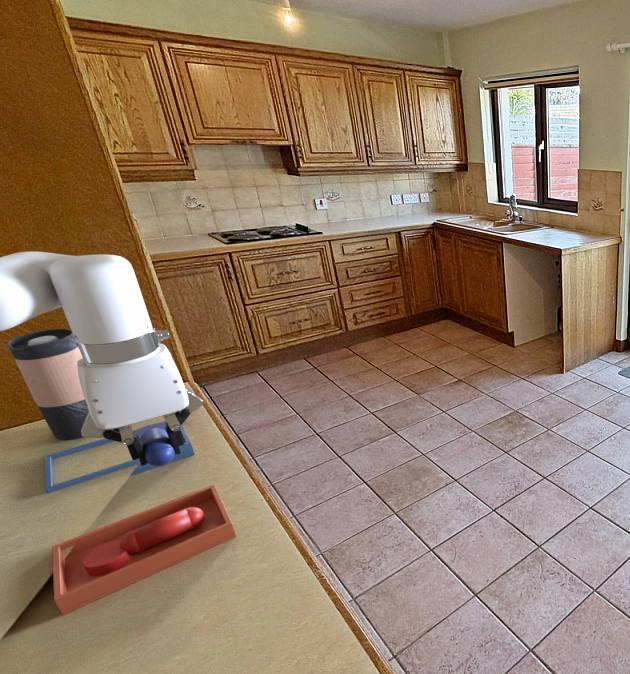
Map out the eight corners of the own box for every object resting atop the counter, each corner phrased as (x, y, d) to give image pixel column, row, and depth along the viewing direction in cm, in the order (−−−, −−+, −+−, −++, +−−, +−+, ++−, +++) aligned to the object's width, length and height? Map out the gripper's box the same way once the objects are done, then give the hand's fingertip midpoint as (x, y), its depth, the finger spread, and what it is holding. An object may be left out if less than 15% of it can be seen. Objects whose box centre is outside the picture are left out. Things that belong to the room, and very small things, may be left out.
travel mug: (115, 420, 92) (74, 325, 84) (117, 437, 87) (73, 338, 79) (58, 435, 87) (8, 335, 79) (56, 454, 82) (3, 350, 74)
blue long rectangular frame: (195, 454, 84) (190, 442, 83) (52, 502, 72) (45, 489, 71) (183, 427, 91) (179, 416, 90) (51, 468, 79) (44, 455, 78)
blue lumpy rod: (184, 462, 71) (178, 445, 70) (145, 475, 68) (138, 457, 67) (170, 427, 79) (164, 411, 78) (134, 438, 76) (127, 421, 75)
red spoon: (203, 513, 71) (197, 496, 70) (210, 529, 68) (203, 512, 67) (86, 561, 62) (76, 544, 61) (88, 582, 60) (78, 564, 58)
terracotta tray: (236, 536, 68) (232, 523, 67) (62, 615, 56) (53, 600, 55) (218, 496, 75) (214, 484, 74) (59, 560, 63) (52, 546, 62)
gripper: (191, 324, 73) (220, 425, 80) (30, 353, 61) (81, 467, 69) (201, 339, 68) (232, 444, 75) (29, 373, 57) (85, 493, 64)
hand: (160, 454), depth 72 cm, fingers closed on blue lumpy rod, 3 cm apart
